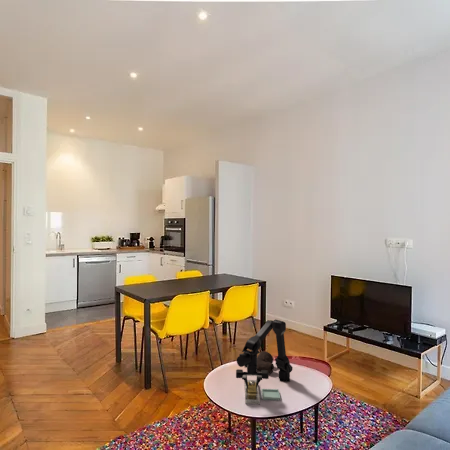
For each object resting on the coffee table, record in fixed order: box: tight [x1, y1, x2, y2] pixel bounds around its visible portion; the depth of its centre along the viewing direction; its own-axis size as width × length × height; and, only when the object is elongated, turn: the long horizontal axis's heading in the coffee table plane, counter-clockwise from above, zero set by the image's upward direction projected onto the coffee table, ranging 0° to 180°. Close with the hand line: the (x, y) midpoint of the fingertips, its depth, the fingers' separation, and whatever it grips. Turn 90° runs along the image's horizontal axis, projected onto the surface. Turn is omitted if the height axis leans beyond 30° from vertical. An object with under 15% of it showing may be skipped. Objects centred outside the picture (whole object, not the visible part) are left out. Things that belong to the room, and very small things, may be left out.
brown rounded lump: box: [257, 351, 275, 374], centre depth 245 cm, size 10×15×15 cm
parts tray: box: [261, 388, 281, 401], centre depth 208 cm, size 10×10×2 cm
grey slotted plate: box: [243, 379, 261, 405], centre depth 210 cm, size 8×24×3 cm, turn 178°
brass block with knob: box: [247, 381, 257, 394], centre depth 208 cm, size 4×4×7 cm
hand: (251, 388), depth 208 cm, fingers closed on brass block with knob, 4 cm apart
